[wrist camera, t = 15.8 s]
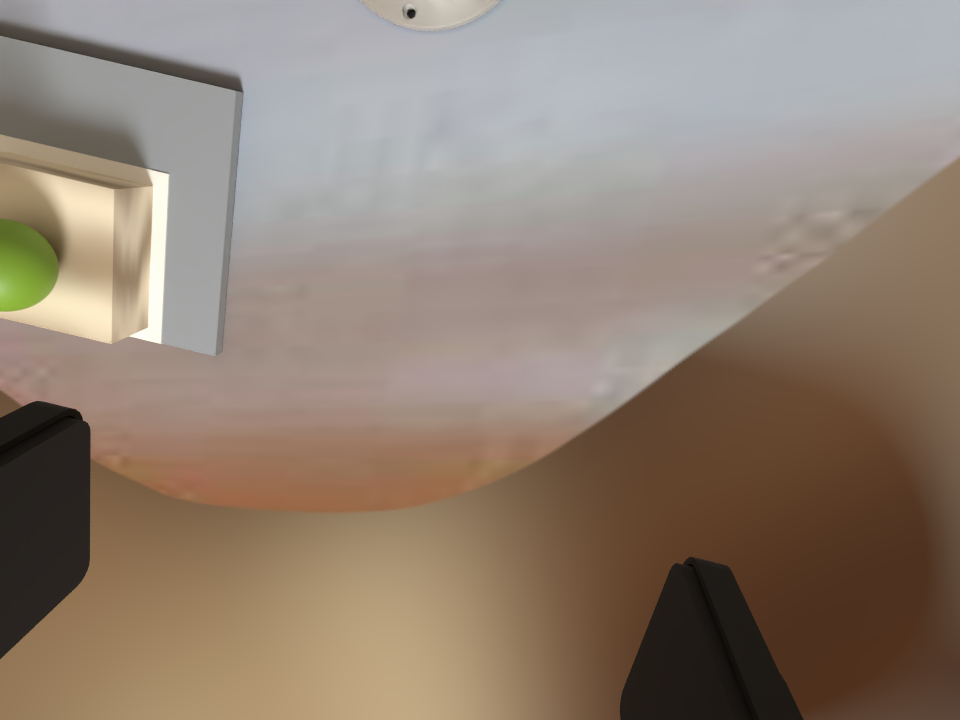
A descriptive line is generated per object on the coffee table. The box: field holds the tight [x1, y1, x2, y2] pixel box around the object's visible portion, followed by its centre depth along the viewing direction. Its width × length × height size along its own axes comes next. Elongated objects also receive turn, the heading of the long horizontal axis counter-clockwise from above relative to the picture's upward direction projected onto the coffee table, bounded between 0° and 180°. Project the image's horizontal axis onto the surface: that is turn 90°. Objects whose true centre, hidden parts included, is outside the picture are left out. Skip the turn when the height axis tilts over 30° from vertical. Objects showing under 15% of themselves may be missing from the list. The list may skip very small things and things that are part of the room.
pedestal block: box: [0, 152, 153, 344], centre depth 40 cm, size 10×10×4 cm
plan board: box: [0, 36, 243, 356], centre depth 42 cm, size 18×18×1 cm
